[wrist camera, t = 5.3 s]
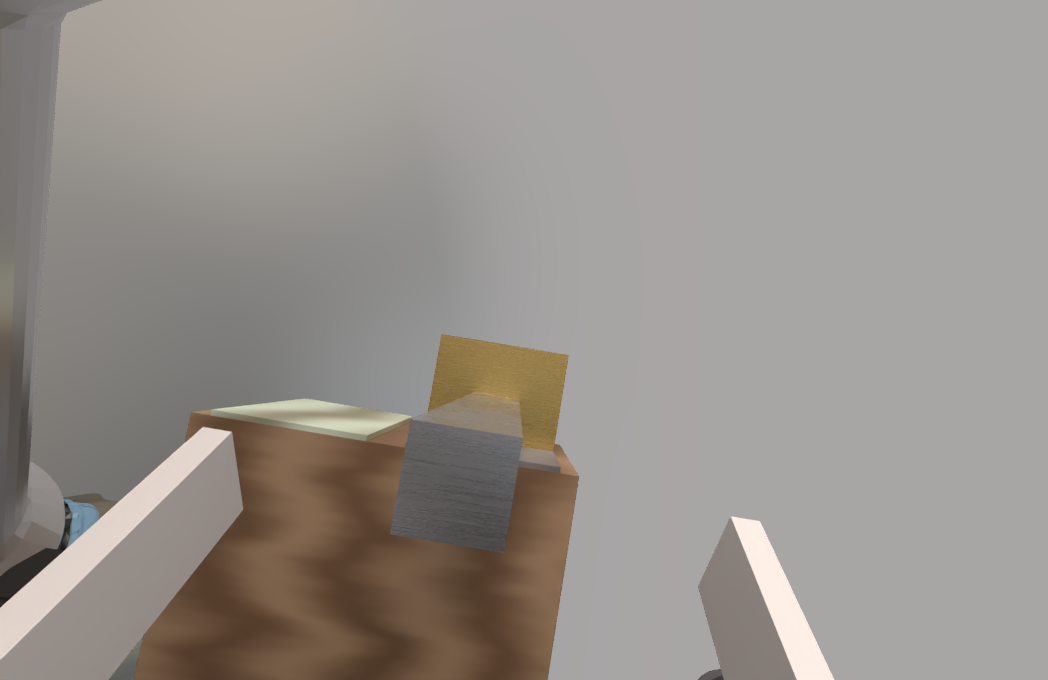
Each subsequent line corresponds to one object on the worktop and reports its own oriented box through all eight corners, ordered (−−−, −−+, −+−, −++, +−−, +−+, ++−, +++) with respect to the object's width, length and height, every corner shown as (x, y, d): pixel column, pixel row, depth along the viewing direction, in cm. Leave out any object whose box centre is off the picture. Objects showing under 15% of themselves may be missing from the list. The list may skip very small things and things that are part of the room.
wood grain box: (53, 1055, 22) (192, 406, 25) (208, 826, 34) (294, 396, 36) (478, 1123, 23) (580, 470, 25) (491, 872, 34) (559, 440, 36)
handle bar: (284, 516, 12) (331, 275, 12) (439, 420, 36) (454, 340, 36) (609, 570, 12) (645, 327, 12) (547, 438, 36) (559, 358, 36)
